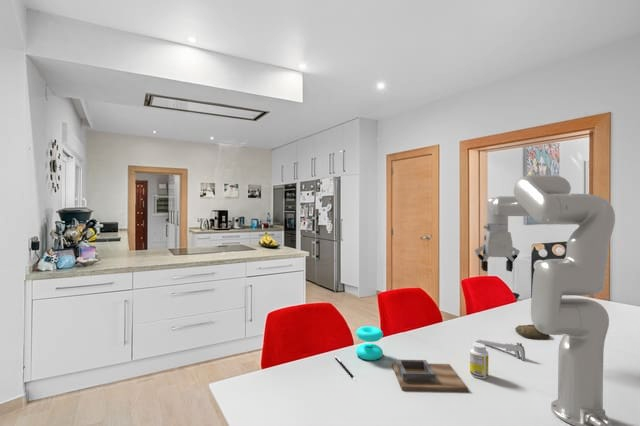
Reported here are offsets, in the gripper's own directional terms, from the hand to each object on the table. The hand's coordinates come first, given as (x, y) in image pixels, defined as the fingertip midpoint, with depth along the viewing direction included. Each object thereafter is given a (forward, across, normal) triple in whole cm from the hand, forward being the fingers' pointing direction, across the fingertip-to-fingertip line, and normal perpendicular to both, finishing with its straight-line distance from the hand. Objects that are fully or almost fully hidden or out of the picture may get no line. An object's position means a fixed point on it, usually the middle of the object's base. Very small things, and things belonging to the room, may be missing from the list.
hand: (496, 270), depth 135 cm
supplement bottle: (+31, -17, -23) cm, 42 cm away
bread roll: (+32, +24, +16) cm, 43 cm away
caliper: (+32, 0, -2) cm, 32 cm away
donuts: (+32, -52, -9) cm, 61 cm away
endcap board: (+31, -35, -26) cm, 53 cm away
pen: (+32, -62, -20) cm, 72 cm away
